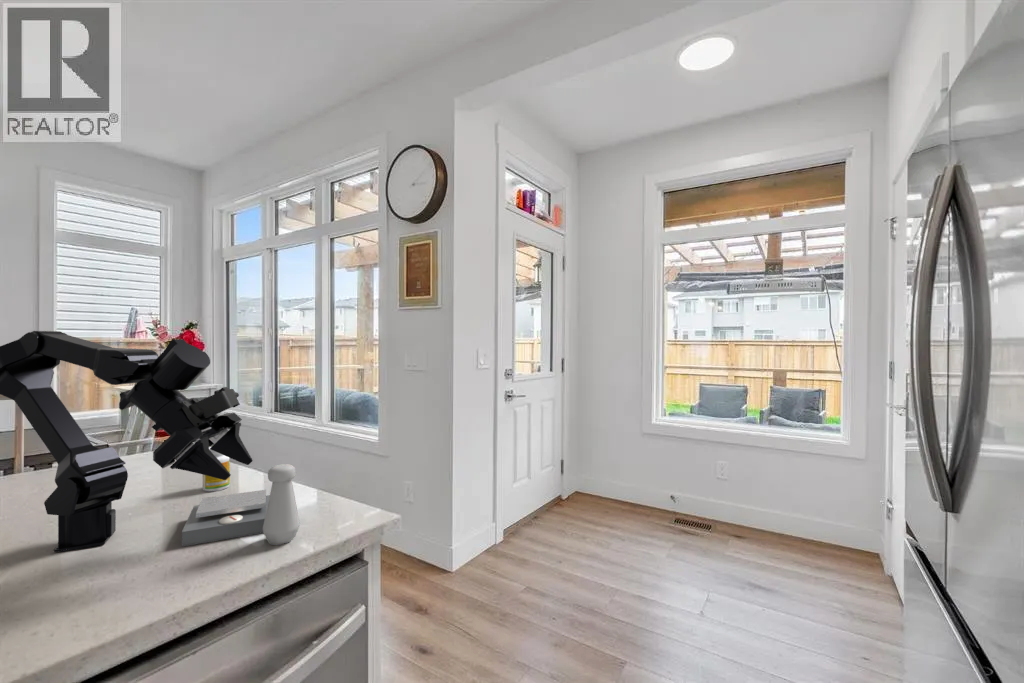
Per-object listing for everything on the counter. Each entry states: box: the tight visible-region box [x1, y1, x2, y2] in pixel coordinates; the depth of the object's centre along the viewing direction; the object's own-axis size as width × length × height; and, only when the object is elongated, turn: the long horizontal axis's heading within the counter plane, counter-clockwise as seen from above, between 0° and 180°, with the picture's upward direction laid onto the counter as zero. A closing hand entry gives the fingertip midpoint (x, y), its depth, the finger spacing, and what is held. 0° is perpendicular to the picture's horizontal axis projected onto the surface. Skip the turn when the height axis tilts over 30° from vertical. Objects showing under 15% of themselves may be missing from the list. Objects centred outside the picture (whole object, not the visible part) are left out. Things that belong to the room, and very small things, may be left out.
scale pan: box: [196, 489, 267, 518], centre depth 88 cm, size 11×9×1 cm
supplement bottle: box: [202, 446, 231, 492], centre depth 108 cm, size 5×5×10 cm
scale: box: [181, 494, 270, 547], centre depth 87 cm, size 14×14×3 cm
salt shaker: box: [262, 463, 301, 546], centre depth 80 cm, size 6×6×13 cm
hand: (240, 469), depth 79 cm, fingers open, 9 cm apart
